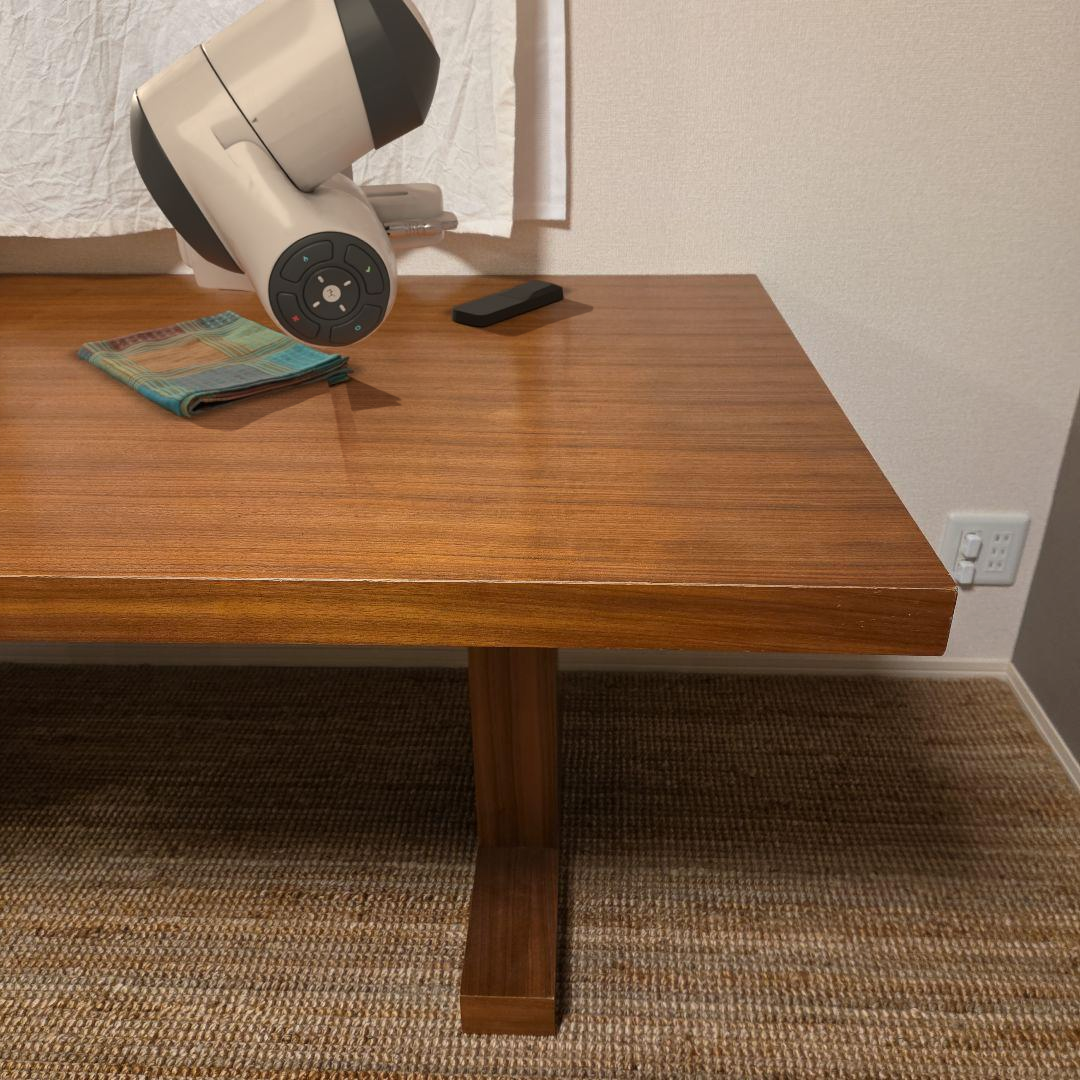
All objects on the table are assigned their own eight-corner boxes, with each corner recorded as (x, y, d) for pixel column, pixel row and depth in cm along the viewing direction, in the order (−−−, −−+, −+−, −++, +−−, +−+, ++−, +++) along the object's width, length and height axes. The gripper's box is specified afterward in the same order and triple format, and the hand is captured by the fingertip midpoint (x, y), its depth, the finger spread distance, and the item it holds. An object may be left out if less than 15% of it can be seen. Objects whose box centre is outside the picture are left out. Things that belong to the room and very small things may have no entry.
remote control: (481, 333, 108) (567, 297, 118) (480, 316, 107) (566, 282, 117) (448, 324, 111) (534, 290, 121) (447, 308, 110) (534, 275, 120)
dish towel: (184, 430, 84) (178, 401, 82) (74, 362, 99) (68, 337, 98) (357, 380, 94) (354, 353, 93) (234, 326, 109) (230, 303, 108)
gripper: (461, 181, 71) (431, 154, 83) (157, 196, 67) (172, 165, 79) (465, 271, 74) (436, 232, 86) (175, 290, 70) (186, 247, 82)
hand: (308, 200), depth 82 cm, fingers closed on can, 7 cm apart
